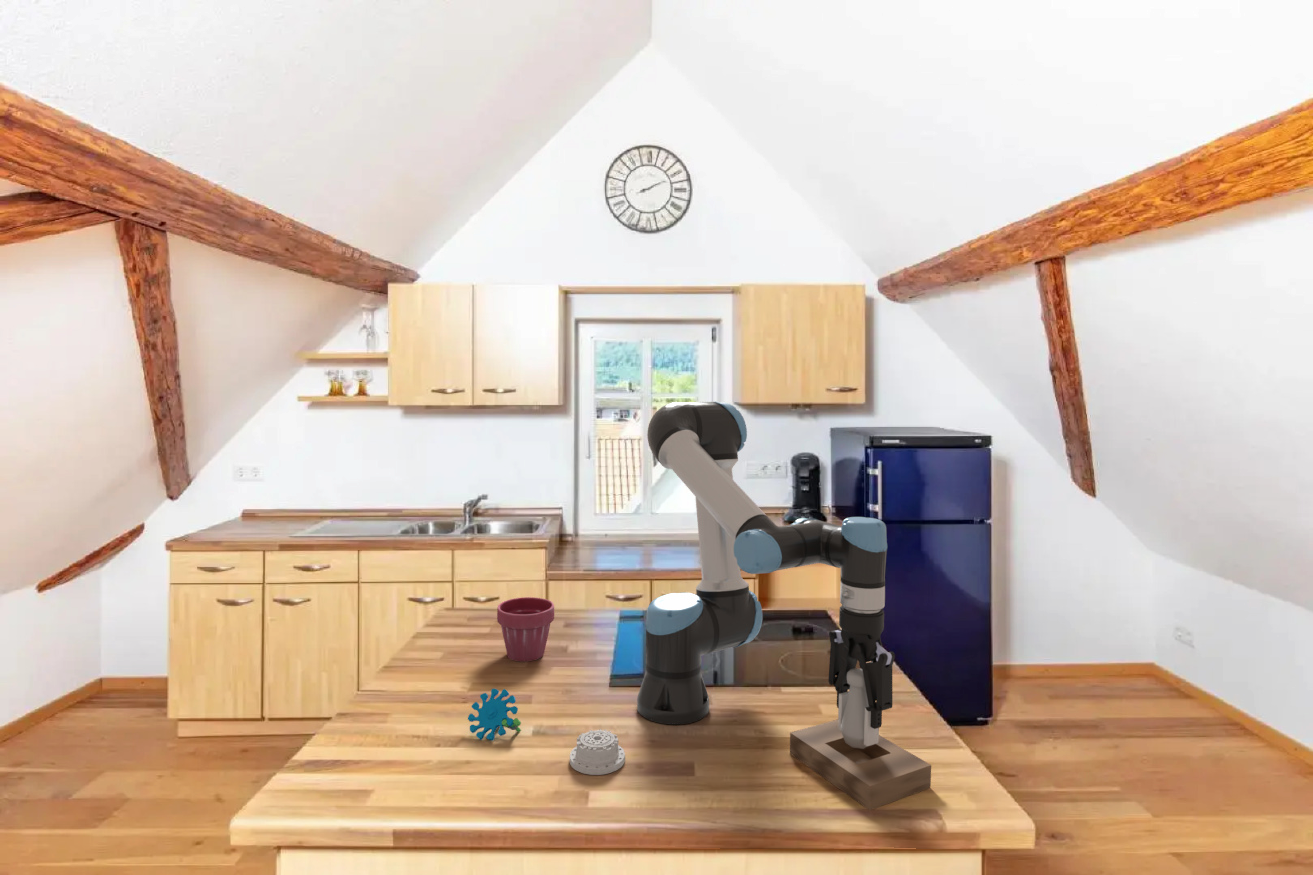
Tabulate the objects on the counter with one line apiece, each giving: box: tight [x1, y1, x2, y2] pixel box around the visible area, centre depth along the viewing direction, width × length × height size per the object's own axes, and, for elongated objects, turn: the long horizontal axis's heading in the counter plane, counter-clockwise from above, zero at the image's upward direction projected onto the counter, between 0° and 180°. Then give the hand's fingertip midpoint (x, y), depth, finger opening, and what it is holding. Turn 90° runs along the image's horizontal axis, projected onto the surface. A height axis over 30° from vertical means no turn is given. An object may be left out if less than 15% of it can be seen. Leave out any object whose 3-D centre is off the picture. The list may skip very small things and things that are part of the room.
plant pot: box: [496, 596, 555, 662], centre depth 178 cm, size 14×14×13 cm
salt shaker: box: [841, 668, 869, 749], centre depth 125 cm, size 6×6×13 cm
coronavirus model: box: [467, 688, 522, 742], centre depth 139 cm, size 11×6×10 cm
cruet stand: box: [789, 718, 932, 811], centre depth 126 cm, size 20×14×4 cm
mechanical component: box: [569, 728, 626, 776], centre depth 128 cm, size 10×4×10 cm
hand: (857, 735), depth 125 cm, fingers closed on salt shaker, 6 cm apart
